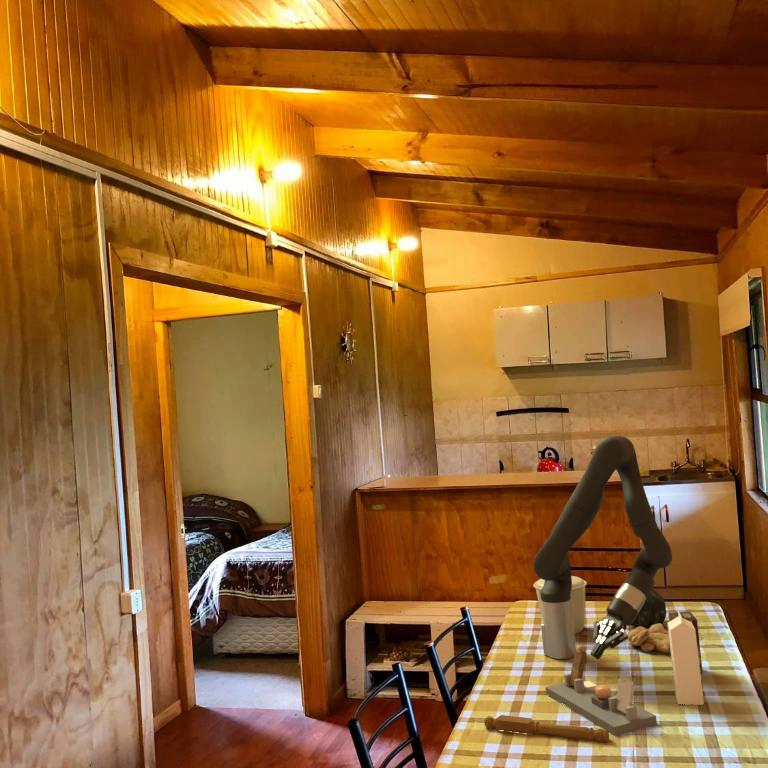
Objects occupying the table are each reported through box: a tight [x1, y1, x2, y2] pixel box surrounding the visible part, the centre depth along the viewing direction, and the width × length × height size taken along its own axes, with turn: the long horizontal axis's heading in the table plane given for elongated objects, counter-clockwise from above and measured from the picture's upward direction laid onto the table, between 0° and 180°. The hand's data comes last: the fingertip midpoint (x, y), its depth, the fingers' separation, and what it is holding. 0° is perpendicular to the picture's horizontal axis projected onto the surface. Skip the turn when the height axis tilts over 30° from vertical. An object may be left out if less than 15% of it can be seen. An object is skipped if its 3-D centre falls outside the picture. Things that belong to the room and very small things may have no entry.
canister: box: [533, 575, 587, 635], centre depth 253 cm, size 18×18×21 cm
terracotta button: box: [595, 684, 612, 698], centre depth 185 cm, size 4×4×2 cm
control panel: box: [545, 672, 658, 737], centre depth 187 cm, size 12×30×5 cm, turn 20°
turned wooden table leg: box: [484, 714, 610, 744], centre depth 176 cm, size 3×3×30 cm
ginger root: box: [626, 623, 671, 653], centre depth 228 cm, size 16×16×8 cm
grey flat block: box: [615, 677, 635, 713], centre depth 178 cm, size 1×5×7 cm, turn 18°
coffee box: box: [667, 611, 704, 680], centre depth 205 cm, size 9×6×16 cm
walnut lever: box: [569, 644, 587, 685], centre depth 198 cm, size 3×3×11 cm
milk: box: [667, 610, 704, 706], centre depth 187 cm, size 6×6×22 cm
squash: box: [631, 588, 667, 629], centre depth 252 cm, size 14×15×15 cm
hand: (594, 657), depth 199 cm, fingers closed
